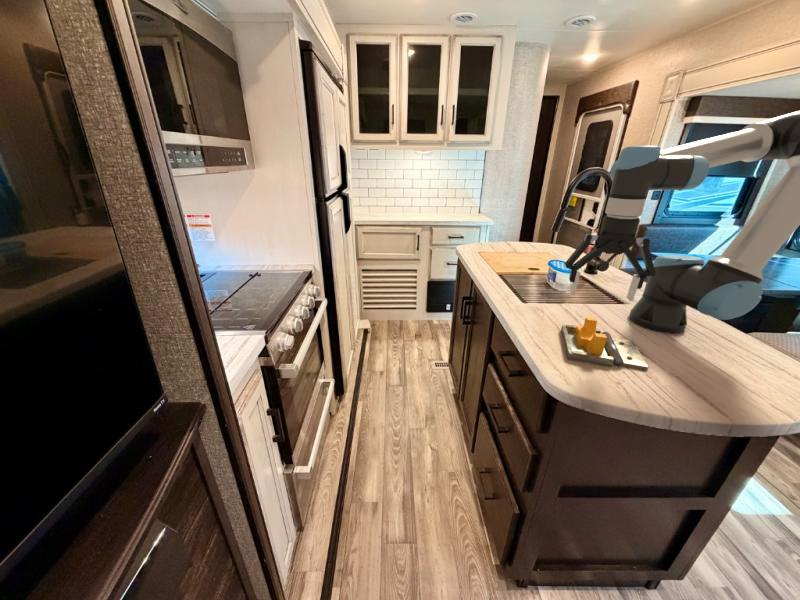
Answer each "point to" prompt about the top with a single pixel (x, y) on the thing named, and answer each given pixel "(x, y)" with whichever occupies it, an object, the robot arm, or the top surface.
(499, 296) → the top surface
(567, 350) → the hinge base
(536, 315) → the top surface
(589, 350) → the orange stepped block
